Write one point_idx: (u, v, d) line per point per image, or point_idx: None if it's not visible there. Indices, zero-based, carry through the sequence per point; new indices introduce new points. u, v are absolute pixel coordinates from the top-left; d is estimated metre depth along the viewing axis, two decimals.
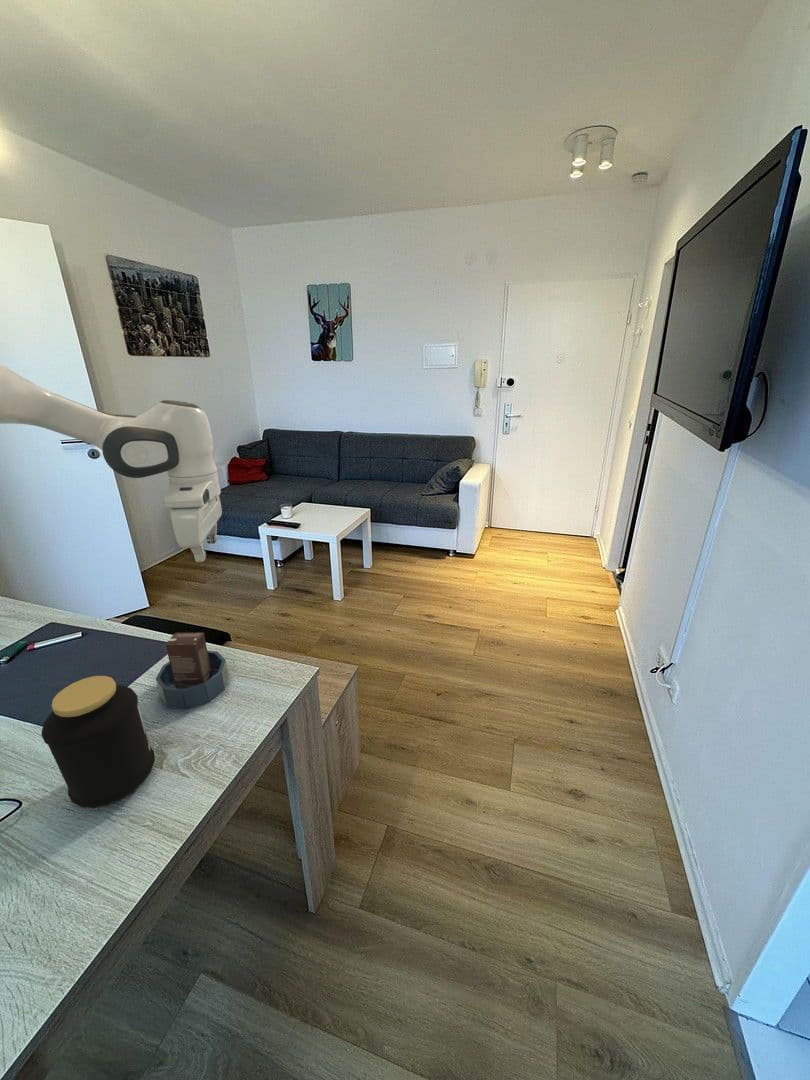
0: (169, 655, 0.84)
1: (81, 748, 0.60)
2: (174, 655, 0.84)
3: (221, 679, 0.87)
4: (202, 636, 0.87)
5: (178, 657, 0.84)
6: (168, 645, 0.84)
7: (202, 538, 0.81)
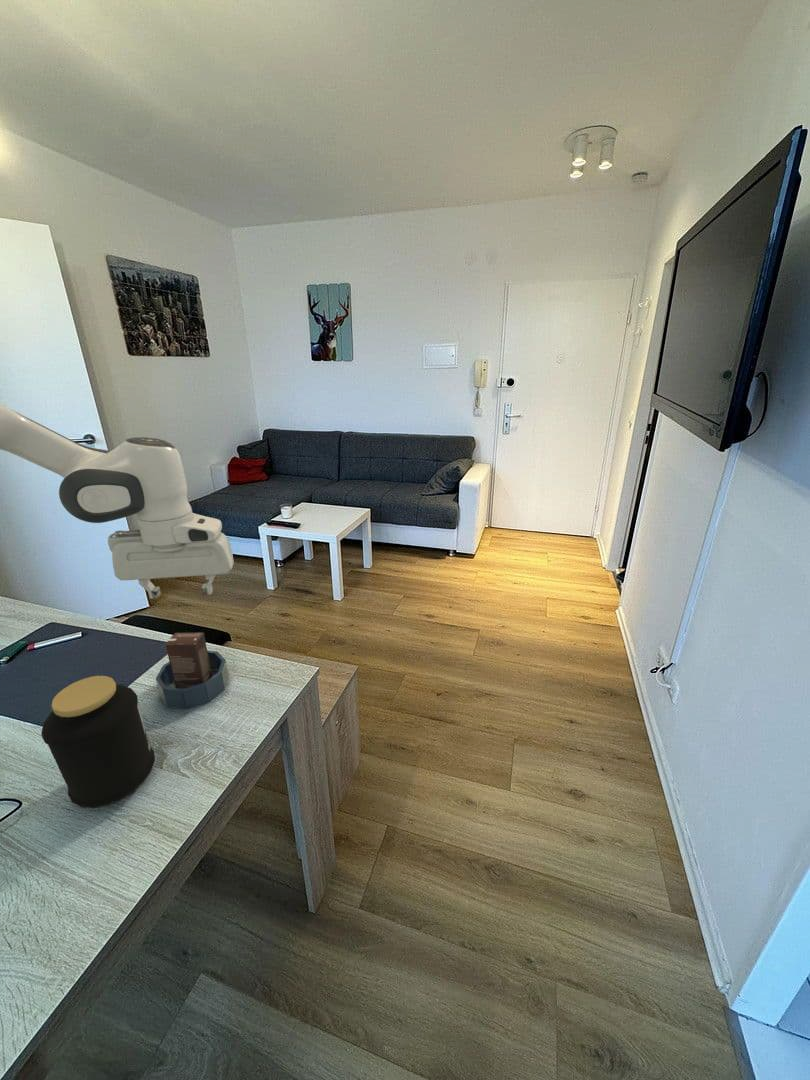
0: (169, 655, 0.84)
1: (81, 748, 0.59)
2: (174, 655, 0.84)
3: (221, 679, 0.87)
4: (202, 636, 0.87)
5: (178, 657, 0.84)
6: (168, 645, 0.84)
7: None
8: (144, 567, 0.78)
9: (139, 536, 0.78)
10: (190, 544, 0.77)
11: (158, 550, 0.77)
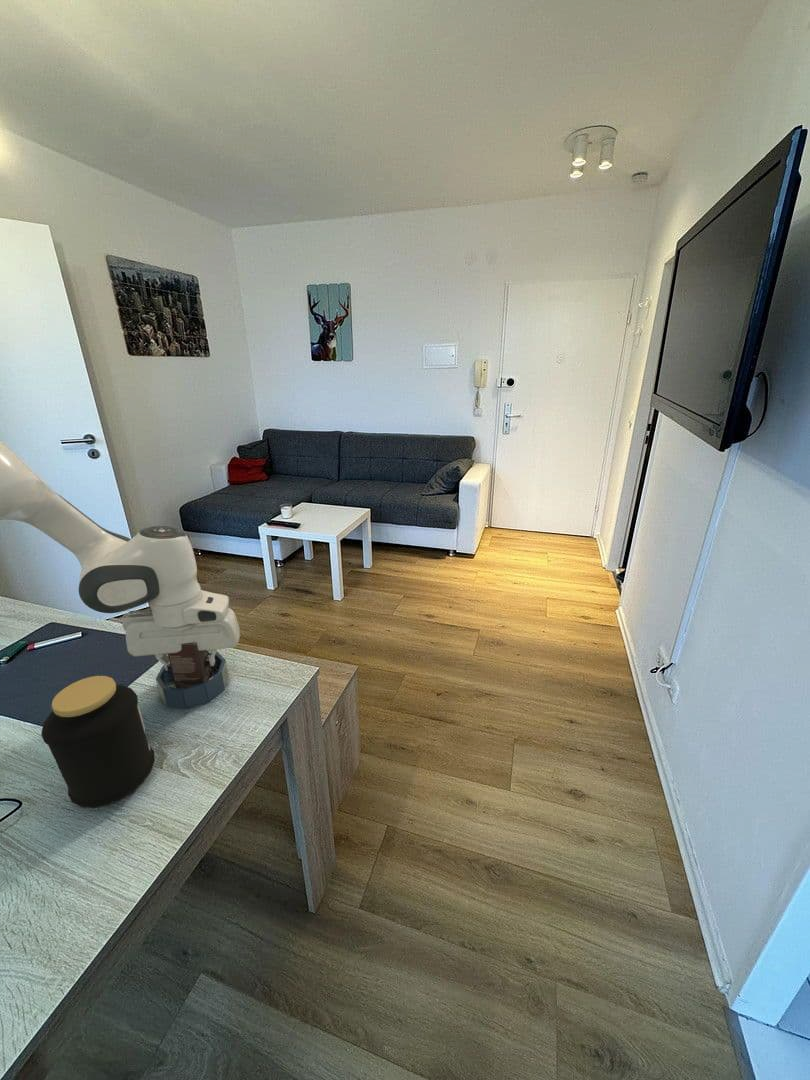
0: (169, 655, 0.84)
1: (81, 748, 0.60)
2: (174, 655, 0.84)
3: (221, 679, 0.87)
4: None
5: (178, 657, 0.84)
6: None
7: None
8: (155, 644, 0.83)
9: (151, 615, 0.82)
10: (199, 623, 0.81)
11: (169, 630, 0.81)
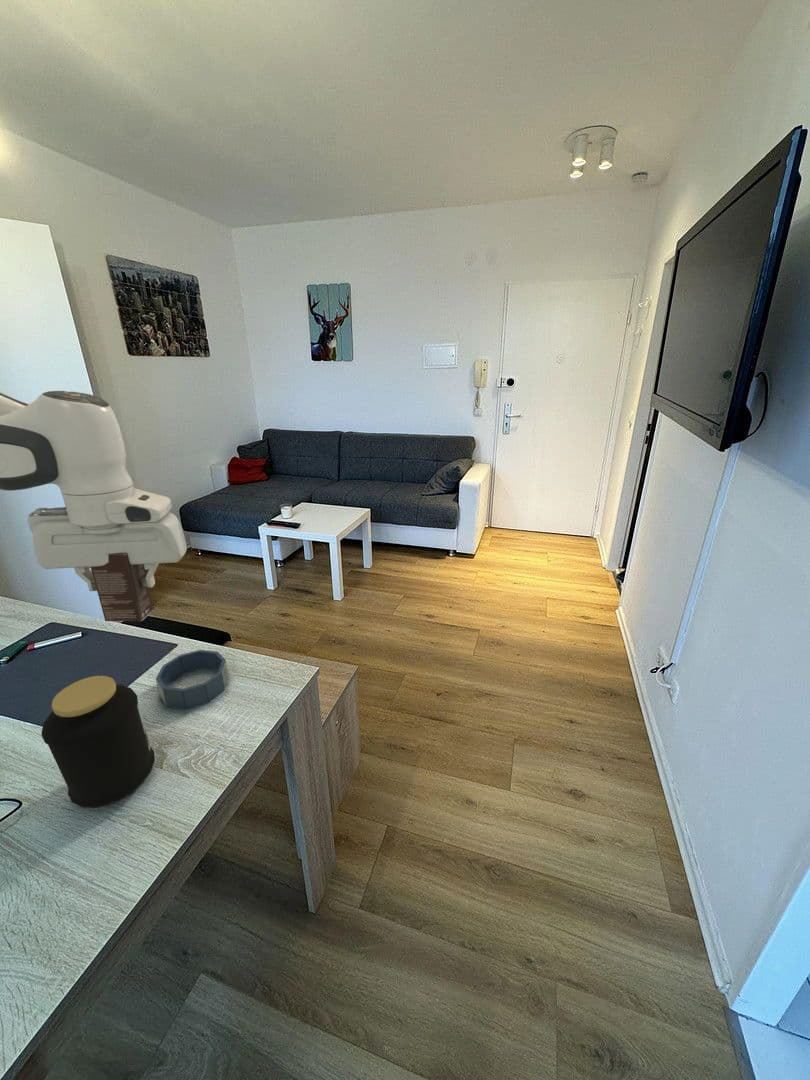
0: (92, 569, 0.66)
1: (81, 748, 0.60)
2: (99, 569, 0.66)
3: (221, 679, 0.87)
4: None
5: (104, 572, 0.67)
6: None
7: None
8: (73, 552, 0.65)
9: (67, 515, 0.64)
10: (129, 525, 0.63)
11: (89, 532, 0.63)
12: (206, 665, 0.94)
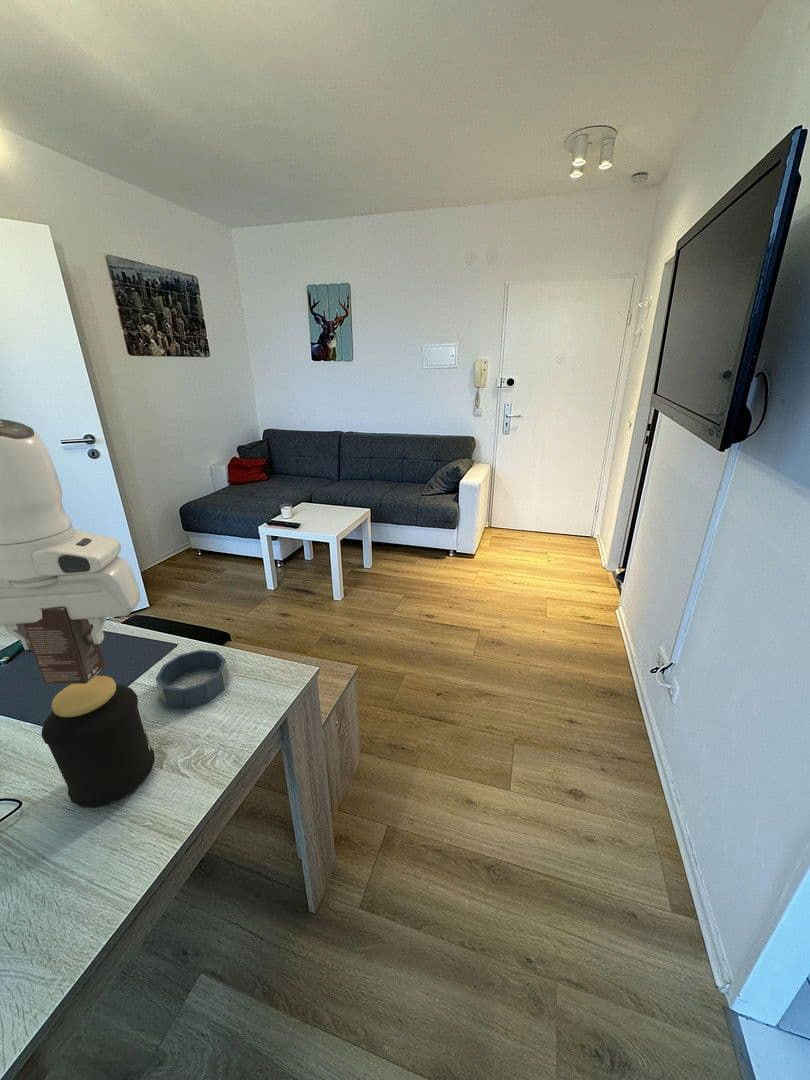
0: (26, 626, 0.56)
1: (81, 748, 0.59)
2: (34, 626, 0.56)
3: (221, 679, 0.87)
4: None
5: (39, 629, 0.56)
6: None
7: None
8: (1, 608, 0.54)
9: None
10: (64, 576, 0.53)
11: (16, 585, 0.53)
12: (206, 665, 0.94)
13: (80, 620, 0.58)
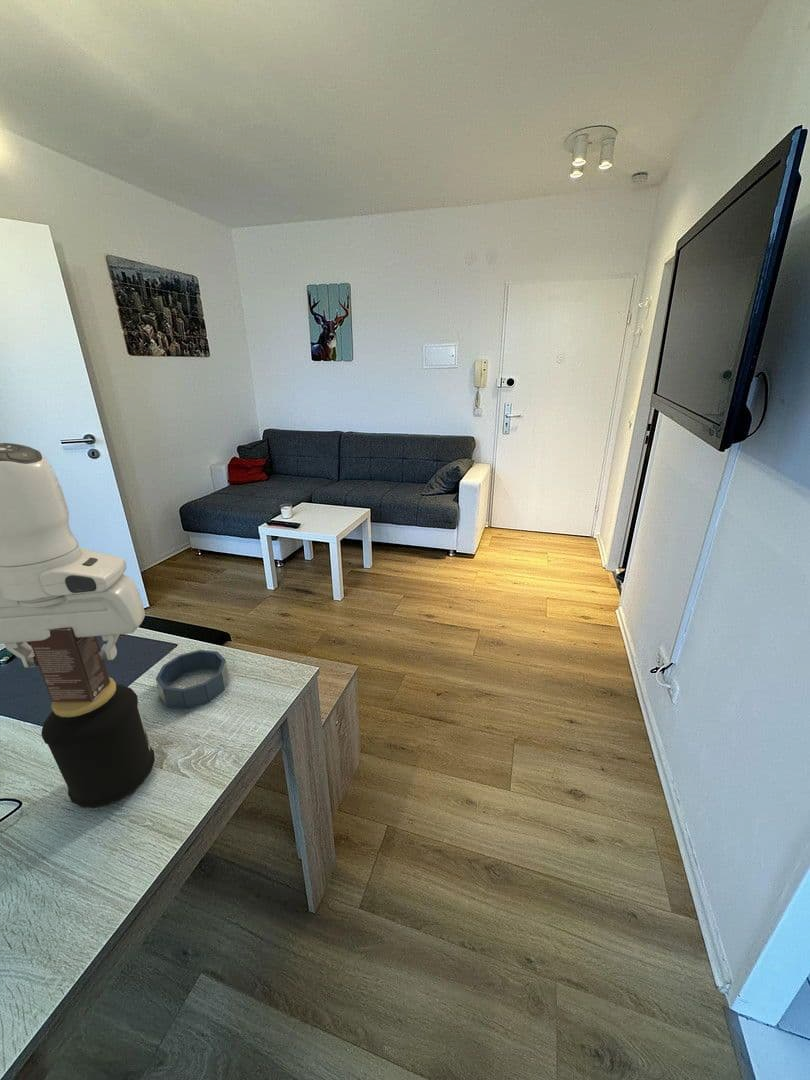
0: (33, 646, 0.57)
1: (81, 748, 0.60)
2: (41, 646, 0.57)
3: (221, 679, 0.87)
4: None
5: (46, 649, 0.57)
6: None
7: None
8: (9, 627, 0.55)
9: None
10: (71, 596, 0.54)
11: (24, 605, 0.54)
12: (206, 665, 0.94)
13: (86, 639, 0.59)
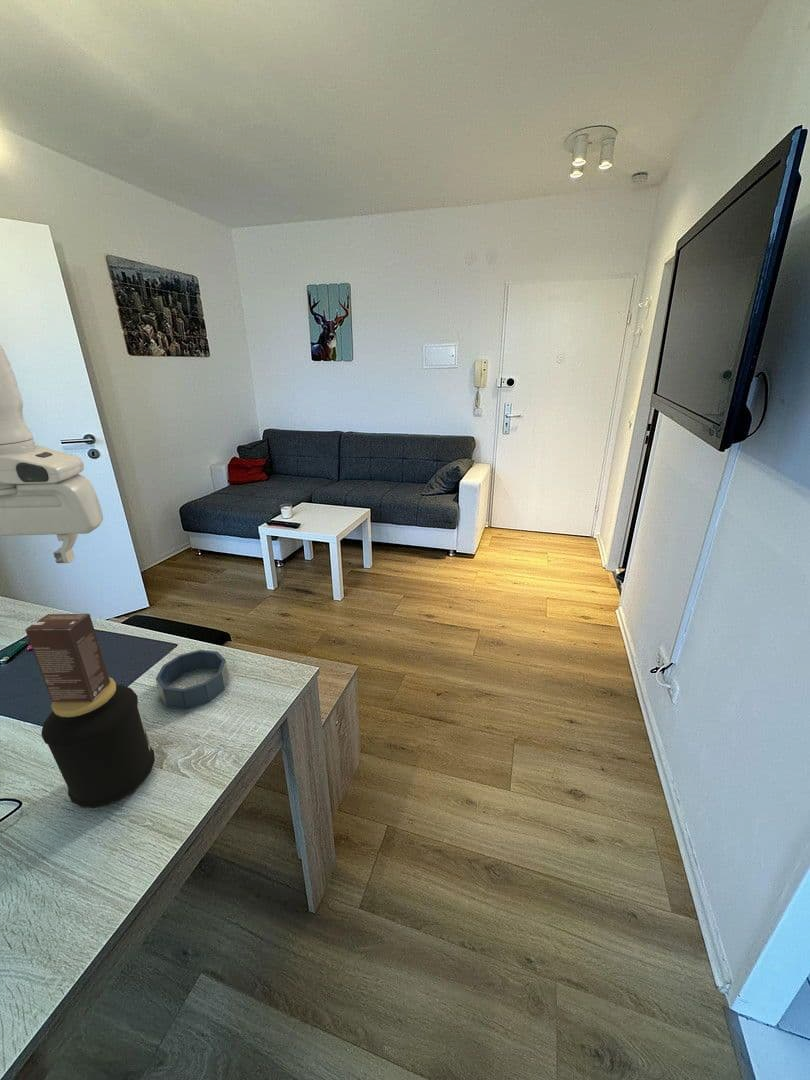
0: (33, 646, 0.57)
1: (81, 748, 0.60)
2: (41, 646, 0.57)
3: (221, 679, 0.87)
4: (87, 618, 0.60)
5: (46, 649, 0.57)
6: (30, 631, 0.56)
7: None
8: None
9: None
10: (23, 486, 0.53)
11: None
12: (206, 665, 0.94)
13: (86, 639, 0.59)
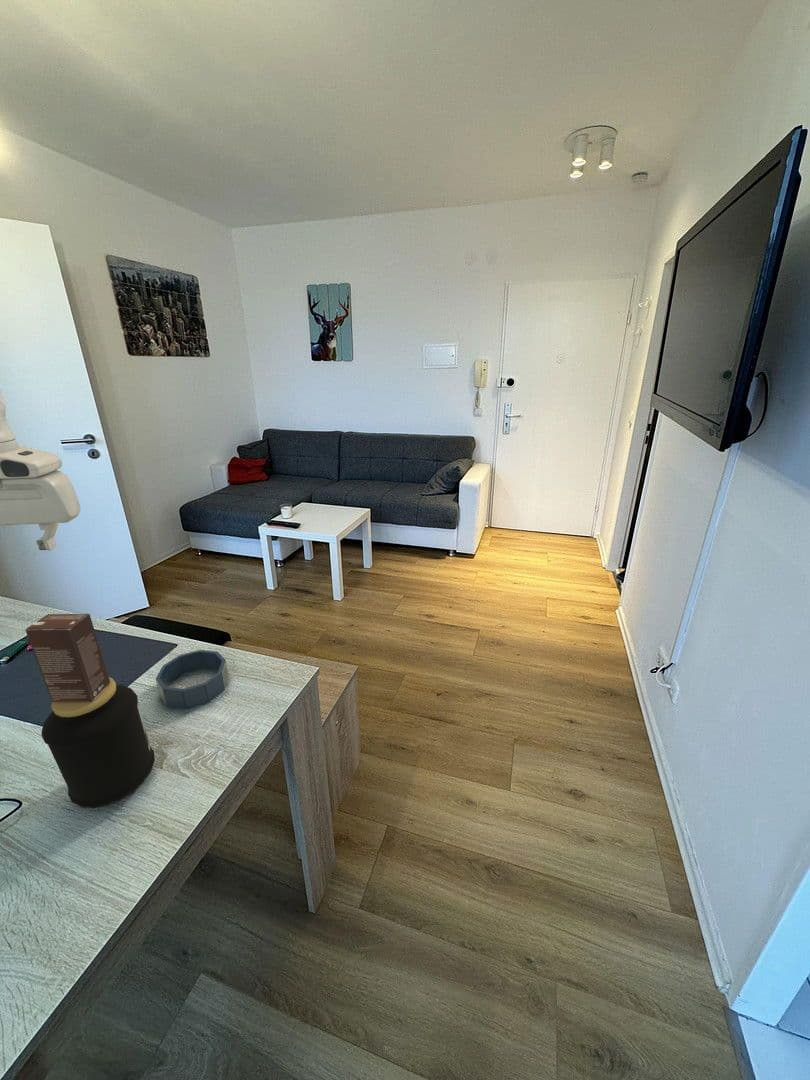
0: (33, 646, 0.57)
1: (81, 748, 0.60)
2: (41, 646, 0.57)
3: (221, 679, 0.87)
4: (87, 618, 0.60)
5: (46, 649, 0.57)
6: (30, 631, 0.56)
7: None
8: None
9: None
10: (7, 481, 0.61)
11: None
12: (206, 665, 0.94)
13: (86, 639, 0.59)
